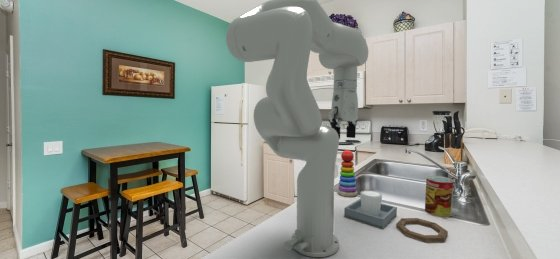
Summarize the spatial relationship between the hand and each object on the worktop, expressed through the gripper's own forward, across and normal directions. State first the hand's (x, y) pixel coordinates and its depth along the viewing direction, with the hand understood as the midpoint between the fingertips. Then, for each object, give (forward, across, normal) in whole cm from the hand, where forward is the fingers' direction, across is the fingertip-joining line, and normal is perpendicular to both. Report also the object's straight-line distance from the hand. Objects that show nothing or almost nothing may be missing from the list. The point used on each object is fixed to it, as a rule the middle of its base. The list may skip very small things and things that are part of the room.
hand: (343, 138), depth 83 cm
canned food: (+26, +25, -23) cm, 43 cm away
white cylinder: (+25, +5, -8) cm, 27 cm away
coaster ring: (+26, +6, -23) cm, 35 cm away
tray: (+26, +5, -8) cm, 28 cm away
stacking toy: (+26, +19, +9) cm, 33 cm away
